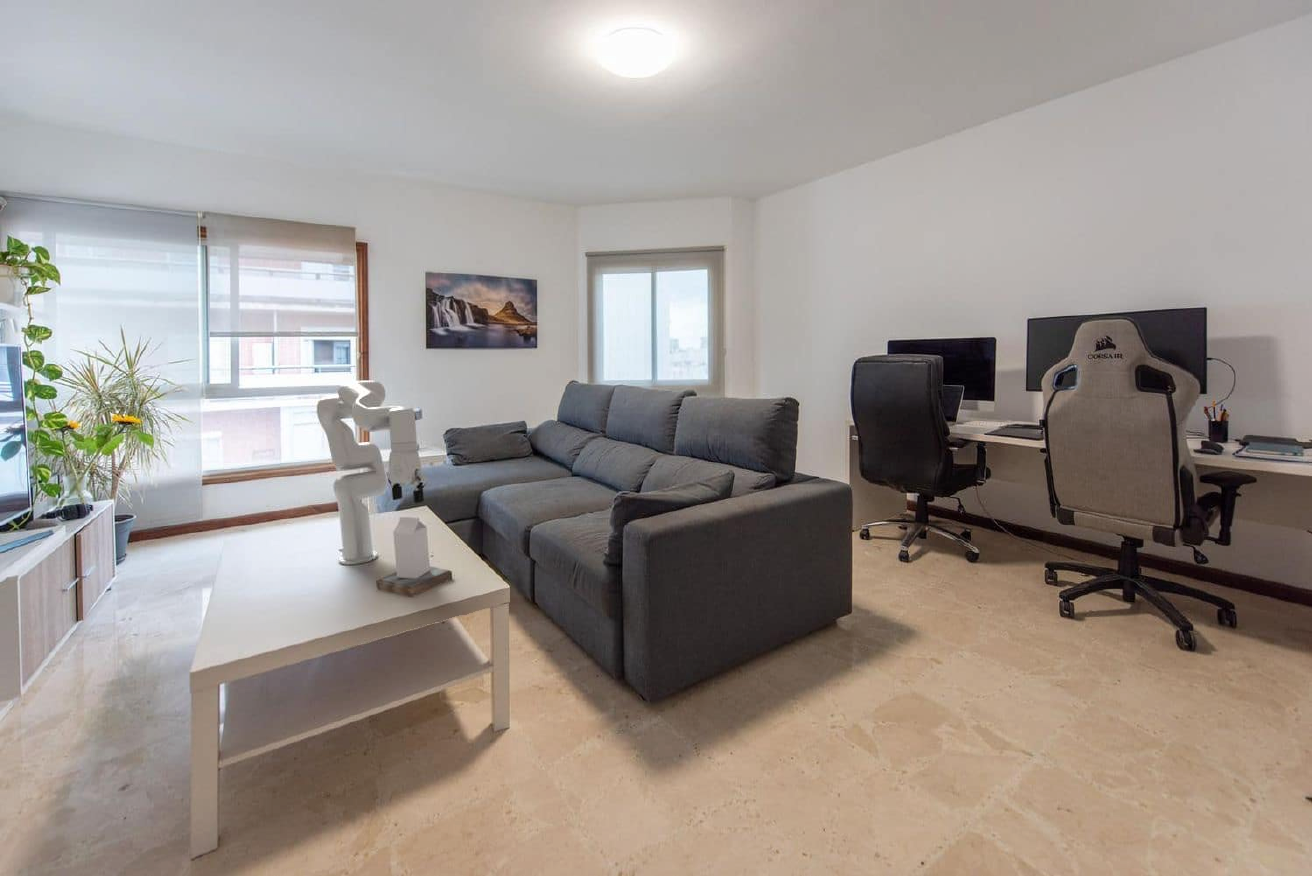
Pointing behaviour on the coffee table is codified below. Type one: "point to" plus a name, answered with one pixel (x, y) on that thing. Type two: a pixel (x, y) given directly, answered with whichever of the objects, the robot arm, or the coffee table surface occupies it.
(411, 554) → the milk carton
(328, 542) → the coffee table surface
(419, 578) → the framed mirror
